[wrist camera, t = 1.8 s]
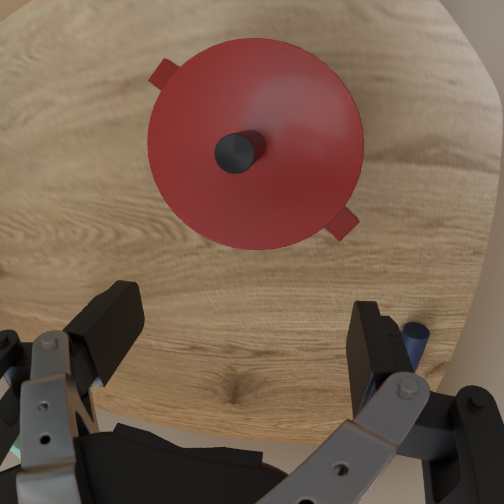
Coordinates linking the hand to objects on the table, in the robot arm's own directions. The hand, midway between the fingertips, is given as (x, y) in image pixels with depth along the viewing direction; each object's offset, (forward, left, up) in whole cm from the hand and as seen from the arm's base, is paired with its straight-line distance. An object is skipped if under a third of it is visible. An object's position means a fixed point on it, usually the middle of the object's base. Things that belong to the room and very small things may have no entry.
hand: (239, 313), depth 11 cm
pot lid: (-2, -4, -15) cm, 16 cm away
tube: (+5, +28, -23) cm, 36 cm away
